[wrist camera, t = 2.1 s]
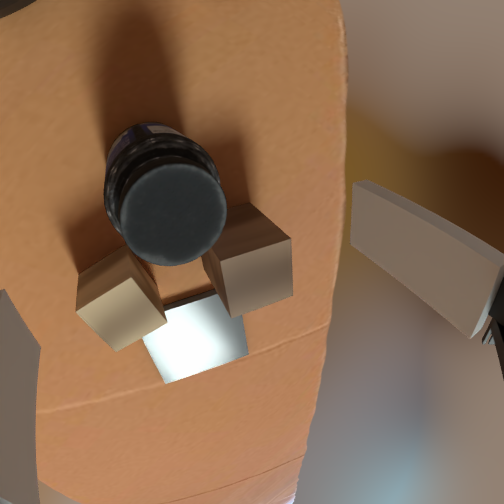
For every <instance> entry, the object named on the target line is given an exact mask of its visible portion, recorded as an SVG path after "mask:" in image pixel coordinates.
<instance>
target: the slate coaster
mask: <svg viewBox="0 0 504 504" xmlns="http://www.w3.org/2000/svg"><path fill="white" fill-rule="evenodd" d="M163 308H164V312H165V315H166V318H167V322H168V323H167V324H165V325H163V326H161V327H160V328H158V329H156V330H154V331H153V332H151V333H149V334H147V335H146V336H144V337H142V339H143V341H144V343H145V345H146V347H147V349H148V351H149V353H150V355H151V357H152V359H153V361H154V363H155V365H156V367H157V368H158V370H159V372H160V374H161V376H162V378H163V380H164V381H165V383H169V382H173V381H176V380H179V379H182V378H185V377H188V376H191V375H194V374H197V373H199V372H202V371H205V370H208V369H211V368H214V367H216V366H219V365H222V364H225V363H227V362H230V361H233V360H235V359H238V358H241V357H243V356H246V355H248V354H249V353H248V347H247V341H246V336H245V330H244V324H243V318H242V315H240V316H237V317H234V318H232V319H231V317H230V315H229V313H228V312H227V310H226V308H225V306H224V304H223V303H222V301H221V299H220V297H219V295H218V294H217V292H216V290H215V289H213V290H210V291H207V292H204V293H201V294H198V295H195V296H192V297H189V298H186V299H183V300H180V301H177V302H174V303H171V304H168V305H165V306H163Z"/></svg>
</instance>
